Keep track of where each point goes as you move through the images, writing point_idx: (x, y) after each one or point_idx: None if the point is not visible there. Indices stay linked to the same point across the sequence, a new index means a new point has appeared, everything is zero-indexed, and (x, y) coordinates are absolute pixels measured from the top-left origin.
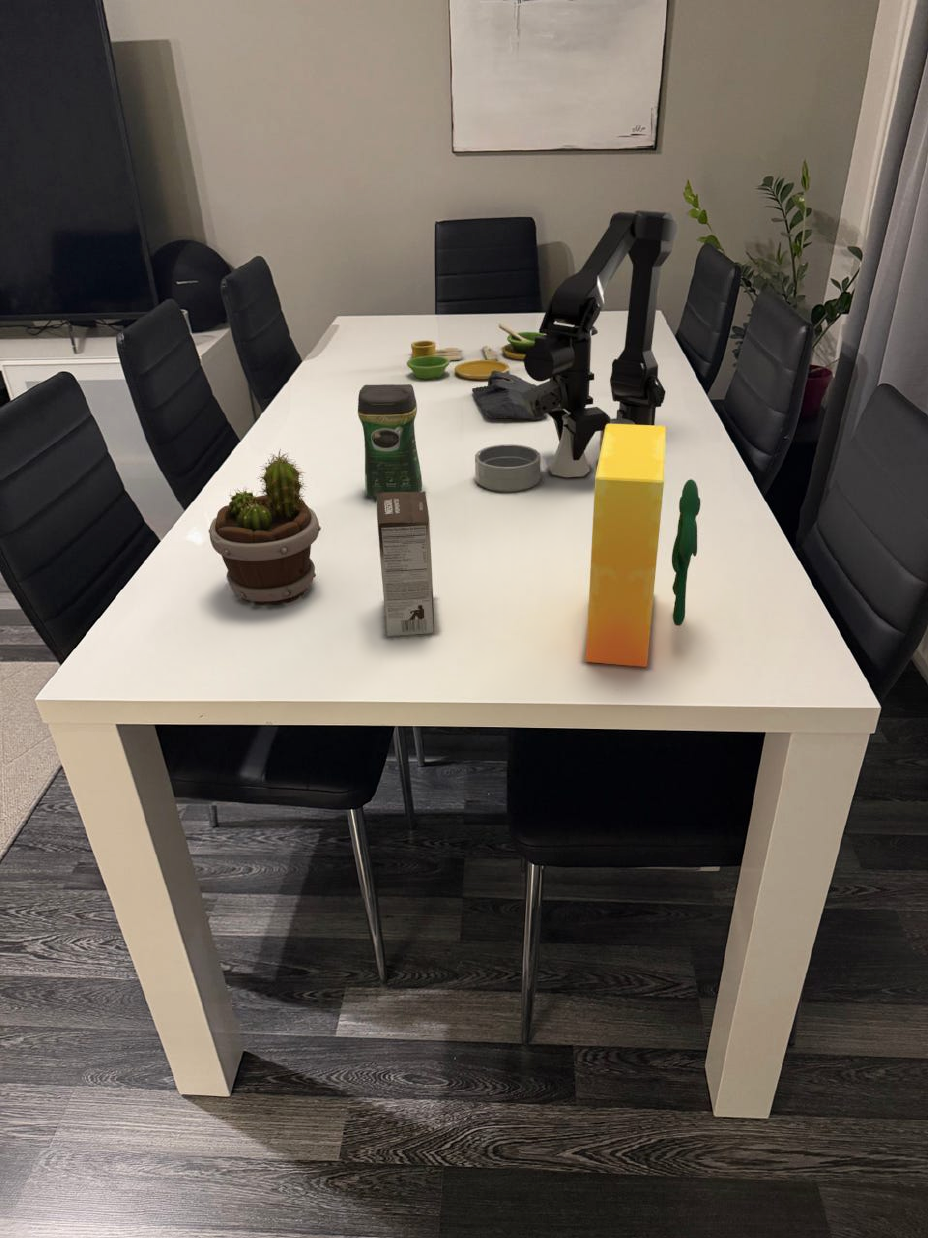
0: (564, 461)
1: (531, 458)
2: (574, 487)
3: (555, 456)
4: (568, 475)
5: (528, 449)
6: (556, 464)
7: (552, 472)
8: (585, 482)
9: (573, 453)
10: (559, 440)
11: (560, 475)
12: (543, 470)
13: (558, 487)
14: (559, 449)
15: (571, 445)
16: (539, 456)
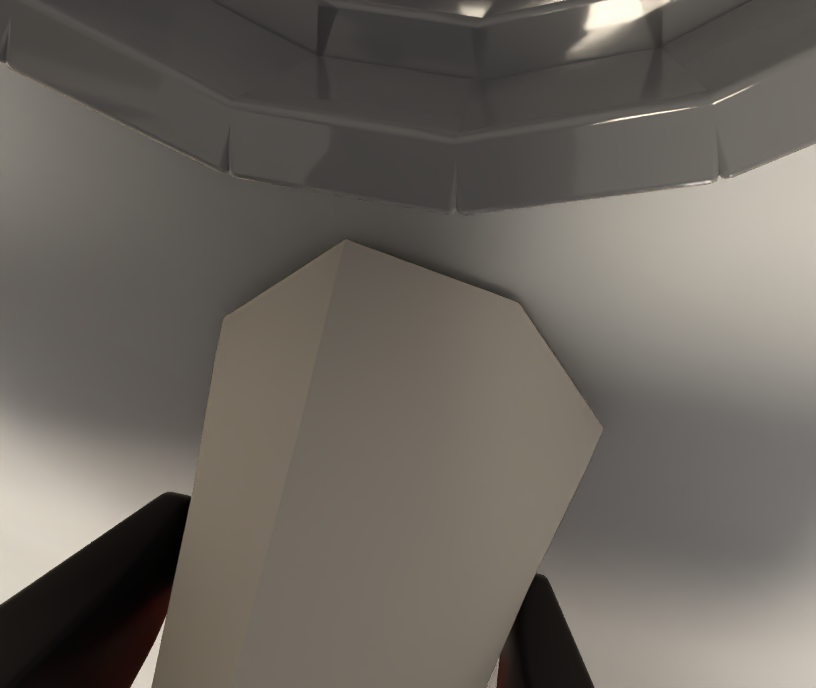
0: (237, 420)
1: (521, 76)
2: (25, 254)
3: (406, 424)
4: (221, 338)
5: (653, 93)
6: (313, 339)
7: (358, 255)
8: (116, 380)
9: (82, 550)
10: (556, 680)
11: (276, 287)
12: (544, 235)
13: (43, 120)
14: (304, 522)
15: (27, 647)
16: (39, 62)
